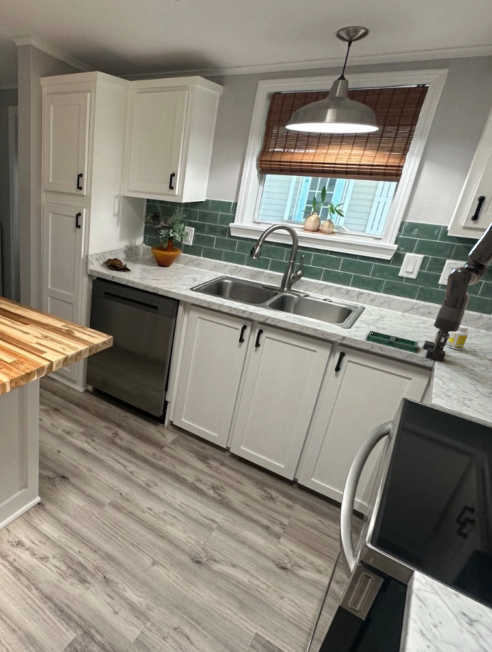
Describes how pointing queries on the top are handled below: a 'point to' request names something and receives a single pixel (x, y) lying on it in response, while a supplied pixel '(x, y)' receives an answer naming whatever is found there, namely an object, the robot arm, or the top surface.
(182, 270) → the top surface
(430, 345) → the far pad
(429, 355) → the near pad
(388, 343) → the base board
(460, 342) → the supplement bottle
